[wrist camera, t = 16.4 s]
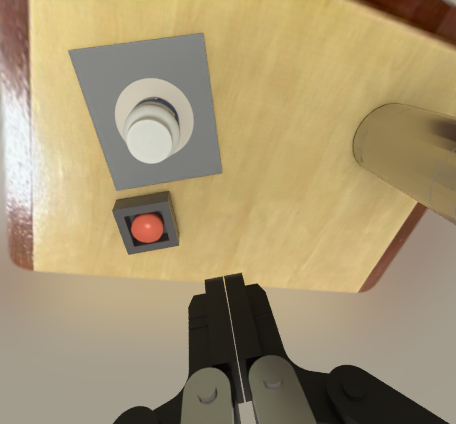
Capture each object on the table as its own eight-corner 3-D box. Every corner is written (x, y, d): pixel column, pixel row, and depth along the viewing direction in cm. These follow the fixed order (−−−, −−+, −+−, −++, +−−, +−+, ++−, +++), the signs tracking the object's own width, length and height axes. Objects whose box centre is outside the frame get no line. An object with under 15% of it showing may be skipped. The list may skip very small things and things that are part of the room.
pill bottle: (169, 150, 36) (167, 180, 27) (126, 131, 34) (109, 157, 25) (186, 109, 34) (190, 128, 25) (142, 86, 32) (129, 99, 23)
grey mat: (202, 33, 31) (203, 32, 30) (221, 172, 39) (222, 173, 38) (69, 50, 30) (67, 50, 29) (116, 189, 38) (116, 191, 37)
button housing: (168, 191, 39) (168, 201, 36) (179, 233, 42) (179, 245, 40) (116, 200, 38) (112, 210, 36) (131, 242, 42) (128, 254, 39)
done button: (159, 207, 38) (158, 214, 37) (166, 231, 40) (165, 239, 39) (129, 212, 38) (127, 219, 36) (137, 236, 40) (136, 245, 38)
